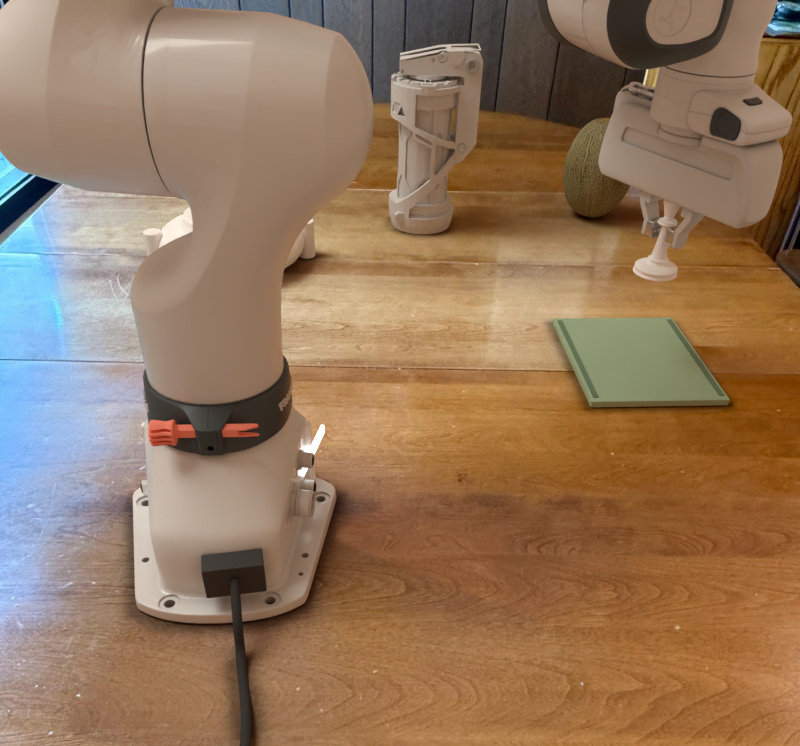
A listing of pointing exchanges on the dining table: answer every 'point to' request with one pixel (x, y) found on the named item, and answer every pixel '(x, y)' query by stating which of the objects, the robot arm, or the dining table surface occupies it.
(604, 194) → the fruit
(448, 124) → the lantern
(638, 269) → the chess piece
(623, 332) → the green rectangular board
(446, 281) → the dining table surface
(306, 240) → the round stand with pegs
